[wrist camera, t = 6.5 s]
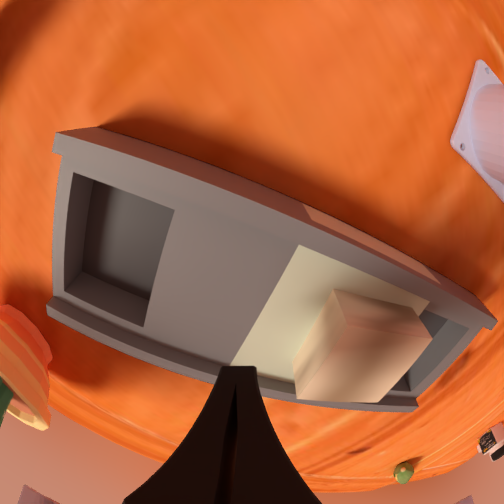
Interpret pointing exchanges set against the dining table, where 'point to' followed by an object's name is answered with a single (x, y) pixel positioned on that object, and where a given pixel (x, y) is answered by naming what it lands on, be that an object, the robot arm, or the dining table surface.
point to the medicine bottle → (493, 442)
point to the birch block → (357, 349)
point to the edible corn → (403, 472)
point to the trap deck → (225, 269)
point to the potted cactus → (23, 369)
